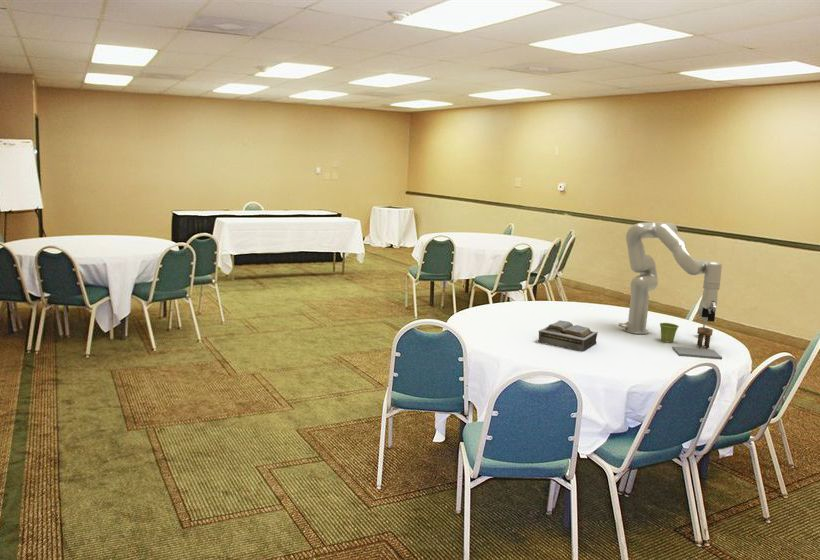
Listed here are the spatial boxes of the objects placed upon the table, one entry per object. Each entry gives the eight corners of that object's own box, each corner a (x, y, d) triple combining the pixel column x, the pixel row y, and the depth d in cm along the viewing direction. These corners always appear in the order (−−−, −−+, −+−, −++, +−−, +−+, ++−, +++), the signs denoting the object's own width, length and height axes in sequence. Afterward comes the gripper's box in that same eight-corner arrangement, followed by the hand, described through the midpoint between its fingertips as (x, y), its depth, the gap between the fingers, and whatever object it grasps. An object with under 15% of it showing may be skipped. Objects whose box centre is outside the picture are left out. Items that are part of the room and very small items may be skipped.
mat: (678, 355, 319) (679, 353, 318) (672, 348, 331) (672, 346, 331) (721, 359, 316) (722, 357, 316) (713, 351, 329) (713, 349, 329)
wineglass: (711, 339, 353) (716, 301, 349) (696, 338, 354) (701, 300, 350) (708, 335, 360) (713, 298, 356) (693, 334, 361) (698, 297, 358)
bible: (557, 334, 349) (558, 316, 348) (603, 345, 331) (605, 327, 329) (531, 341, 333) (533, 322, 331) (578, 354, 314) (580, 334, 313)
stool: (697, 348, 333) (700, 330, 332) (693, 344, 340) (696, 326, 339) (712, 349, 333) (714, 331, 331) (707, 345, 339) (710, 327, 338)
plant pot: (676, 339, 348) (678, 324, 347) (677, 344, 339) (679, 328, 338) (657, 337, 351) (659, 321, 350) (658, 341, 342) (659, 325, 341)
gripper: (698, 282, 339) (695, 315, 342) (708, 288, 323) (705, 322, 325) (713, 283, 338) (710, 316, 341) (724, 289, 322) (721, 323, 324)
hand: (707, 319), depth 333 cm, fingers open, 9 cm apart
